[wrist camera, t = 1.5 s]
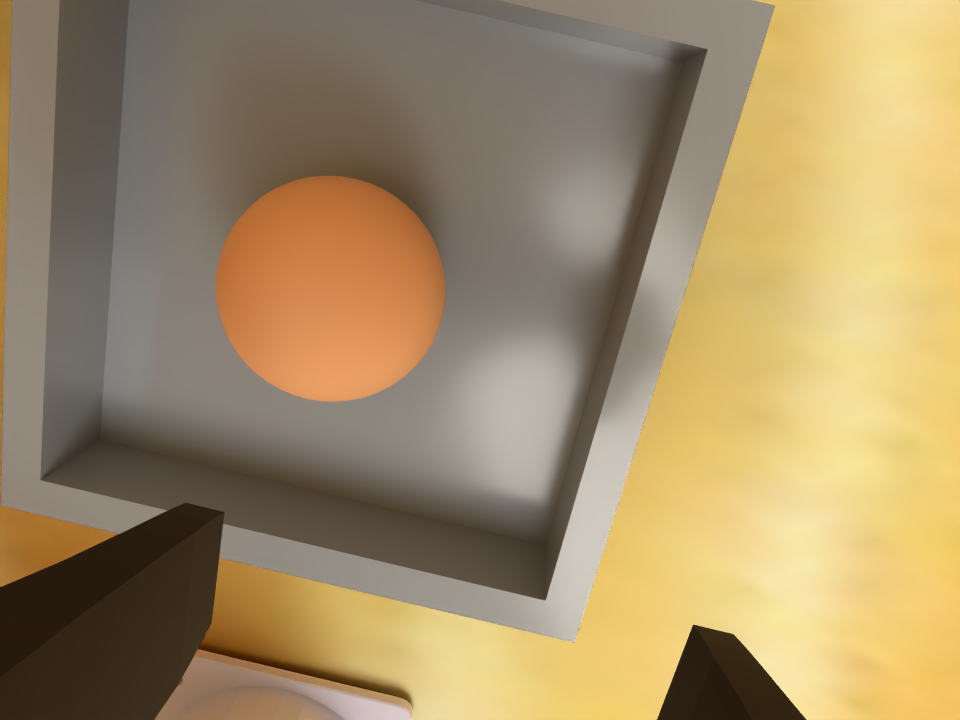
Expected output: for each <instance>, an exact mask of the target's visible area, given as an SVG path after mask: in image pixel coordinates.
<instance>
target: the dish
mask: <svg viewBox="0 0 960 720" xmlns="http://www.w3.org/2000/svg"><path fill="white" fill-rule="evenodd" d="M774 8H775V5H770V4H766V3H762V2H757V1H753V0H12V21H11V66H10V111H9V157H8V202H7V247H6V293H5V338H4V384H3V429H2V474H1V506H4V507H8V508H12V509H17V510H21V511H25V512H29V513H33V514H38V515H42V516H46V517H50V518H54V519H59V520H63V521H67V522H71V523H75V524H79V525H84V526H88V527H92V528H96V529H100V530H105V531H109V532H113V533H117V534H120V533H123V532H125V531H127V530H129V529H131V528H133V527H135V526H137V525H139V524H141V523H143V522H145V521H147V520H149V519H151V518H153V517H155V516H157V515H159V514H161V513H164V512H166V511H168V510H170V509H172V508H174V507H177V506H179V505H181V504H183V503H190V504H194V505H198V506H202V507H206V508H210V509H214V510H219V511H223V512H225V514H224V522H223V530H222V538H221V547H220V555H219V558H222V559H226V560H230V561H234V562H239V563H243V564H247V565H251V566H255V567H260V568H264V569H268V570H272V571H276V572H281V573H285V574H289V575H293V576H297V577H301V578H306V579H310V580H314V581H318V582H322V583H327V584H331V585H335V586H339V587H343V588H348V589H352V590H356V591H360V592H364V593H368V594H373V595H377V596H381V597H385V598H389V599H394V600H398V601H402V602H406V603H410V604H415V605H419V606H423V607H427V608H431V609H436V610H440V611H444V612H448V613H452V614H456V615H461V616H465V617H469V618H473V619H477V620H482V621H486V622H490V623H494V624H498V625H503V626H507V627H511V628H515V629H519V630H523V631H528V632H532V633H536V634H540V635H544V636H549V637H553V638H557V639H561V640H565V641H570V642H574V643H575V640H576V636H577V633H578V630H579V627H580V624H581V620H582V617H583V614H584V611H585V608H586V605H587V601H588V598H589V595H590V592H591V589H592V586H593V582H594V579H595V576H596V573H597V570H598V566H599V563H600V560H601V557H602V554H603V551H604V547H605V544H606V541H607V538H608V535H609V532H610V528H611V525H612V522H613V519H614V516H615V513H616V509H617V506H618V503H619V500H620V497H621V493H622V490H623V487H624V484H625V481H626V478H627V474H628V471H629V468H630V465H631V462H632V459H633V455H634V452H635V449H636V446H637V443H638V439H639V436H640V433H641V430H642V427H643V424H644V420H645V417H646V414H647V411H648V408H649V405H650V401H651V398H652V395H653V392H654V389H655V385H656V382H657V379H658V376H659V373H660V370H661V366H662V363H663V360H664V357H665V354H666V351H667V347H668V344H669V341H670V338H671V335H672V331H673V328H674V325H675V322H676V319H677V316H678V312H679V309H680V306H681V303H682V300H683V297H684V293H685V290H686V287H687V284H688V281H689V277H690V274H691V271H692V268H693V265H694V262H695V258H696V255H697V252H698V249H699V246H700V243H701V239H702V236H703V233H704V230H705V227H706V224H707V220H708V217H709V214H710V211H711V208H712V204H713V201H714V198H715V195H716V192H717V189H718V185H719V182H720V179H721V176H722V173H723V170H724V166H725V163H726V160H727V157H728V154H729V150H730V147H731V144H732V141H733V138H734V135H735V131H736V128H737V125H738V122H739V119H740V116H741V112H742V109H743V106H744V103H745V100H746V96H747V93H748V90H749V87H750V84H751V81H752V77H753V74H754V71H755V68H756V65H757V62H758V58H759V55H760V52H761V49H762V46H763V42H764V39H765V36H766V33H767V30H768V27H769V23H770V20H771V17H772V14H773V11H774ZM314 176H343V177H349V178H355V179H359V180H362V181H365V182H368V183H371V184H373V185H376V186H378V187H380V188H382V189H384V190H386V191H387V192H389V193H391V194H392V195H394V196H395V197H397V198H398V199H399V200H401V201H402V202H403V203H404V204H406V205H407V206H408V207H409V208H410V209H411V210H412V211H413V212H414V213H415V214H416V215H417V216H418V218H419V219H420V220H421V222H422V223H423V224H424V226H425V227H426V228H427V230H428V232H429V233H430V235H431V237H432V239H433V241H434V242H435V245H436V247H437V250H438V252H439V255H440V258H441V262H442V266H443V269H444V277H445V305H444V312H443V316H442V319H441V323H440V326H439V330H438V332H437V334H436V337H435V339H434V341H433V343H432V345H431V346H430V348H429V350H428V351H427V353H426V354H425V355H424V357H423V358H422V359H421V360H420V362H419V363H418V364H417V365H416V366H415V368H414V369H413V370H411V371H410V372H409V373H408V374H407V375H406V376H405V377H404V378H402V379H401V380H399V381H398V382H396V383H395V384H394V385H392V386H390V387H388V388H386V389H384V390H382V391H380V392H378V393H376V394H373V395H370V396H367V397H365V398H360V399H355V400H350V401H338V402H325V401H315V400H310V399H305V398H302V397H298V396H295V395H292V394H290V393H287V392H285V391H283V390H281V389H279V388H277V387H275V386H274V385H272V384H270V383H268V382H267V381H265V380H264V379H263V378H261V377H260V376H259V375H257V374H256V373H255V372H254V371H253V370H252V369H251V368H250V367H249V366H248V365H247V364H246V363H245V362H244V361H243V359H242V358H241V357H240V356H239V355H238V353H237V352H236V350H235V349H234V347H233V346H232V344H231V342H230V340H229V338H228V336H227V334H226V332H225V330H224V327H223V324H222V321H221V319H220V315H219V310H218V306H217V300H216V273H217V267H218V261H219V258H220V255H221V252H222V249H223V246H224V243H225V241H226V239H227V237H228V235H229V233H230V231H231V229H232V228H233V226H234V225H235V223H236V222H237V221H238V219H239V218H240V217H241V216H242V215H243V214H244V213H245V211H246V210H247V209H248V208H249V207H250V206H251V205H252V204H253V203H255V202H256V201H257V200H258V199H260V198H261V197H262V196H263V195H265V194H267V193H268V192H270V191H272V190H273V189H275V188H277V187H280V186H282V185H285V184H287V183H289V182H292V181H295V180H299V179H303V178H307V177H314Z"/></svg>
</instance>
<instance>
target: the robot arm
mask: <svg viewBox="0 0 960 720" xmlns="http://www.w3.org/2000/svg"><path fill="white" fill-rule="evenodd" d="M224 514H225V512H223V511H219V510H214V509H210V508H206V507H202V506H198V505H194V504H190V503H183V504H181V505H179V506H177V507H174V508H172V509H170V510H168V511H166V512H164V513H161V514H159V515H157V516H155V517H153V518H151V519H149V520H147V521H145V522H143V523H141V524H139V525H137V526H135V527H133V528H131V529H129V530H127V531H125V532H123V533H120V534H118V535H116V536H114V537H112V538H110V539H108V540H106V541H104V542H102V543H100V544H97V545H95V546H93V547H91V548H89V549H87V550H85V551H83V552H81V553H78V554H76V555H74V556H72V557H70V558H68V559H66V560H64V561H61V562H59V563H57V564H54V565H52V566H50V567H47V568H45V569H43V570H40V571H38V572H36V573H33V574H31V575H28V576H26V577H24V578H21V579H19V580H17V581H14V582H12V583H10V584H7V585H5V586H3V587H0V720H154V719H155V720H412V716H413V708H412V706H411V704H410V703H409V702H408V701H407V700H405V699H402V698H399V697H395V696H391V695H387V694H383V693H379V692H374V691H370V690H366V689H362V688H358V687H354V686H349V685H345V684H341V683H337V682H333V681H329V680H324V679H320V678H316V677H312V676H308V675H304V674H299V673H295V672H291V671H287V670H283V669H278V668H274V667H270V666H266V665H262V664H258V663H253V662H249V661H245V660H241V659H237V658H233V657H228V656H224V655H220V654H216V653H212V652H208V651H203V650H199V649H198V648H199V646H200V644H201V642H202V640H203V638H204V636H205V634H206V632H207V630H208V628H209V626H210V624H211V622H212V613H213V605H214V597H215V588H216V580H217V572H218V563H219V555H220V547H221V538H222V530H223V522H224ZM657 720H806V719H805V718H804V716H803V715H802V714H801V713H800V712H799V710H798V709H797V708H796V707H795V706H794V705H793V703H792V702H791V701H790V700H789V698H788V697H787V696H786V695H785V694H784V692H783V691H782V690H781V689H780V688H779V686H778V685H777V684H776V683H775V682H774V680H773V679H772V678H771V677H770V676H769V674H768V673H767V672H766V671H765V670H764V668H763V667H762V666H761V665H760V664H759V663H758V661H757V660H756V659H755V658H754V657H753V655H752V654H751V653H750V652H749V651H748V650H747V649H746V647H745V646H744V645H743V644H742V643H741V642H740V641H739V640H738V639H737V638H736V636H735V635H734V634H730V633H726V632H722V631H718V630H713V629H709V628H705V627H701V626H697V625H693V627H692V629H691V632H690V634H689V637H688V640H687V642H686V645H685V648H684V650H683V653H682V655H681V658H680V661H679V663H678V666H677V669H676V671H675V674H674V677H673V679H672V682H671V684H670V687H669V690H668V692H667V695H666V698H665V700H664V703H663V705H662V708H661V711H660V713H659V716H658V719H657Z"/></svg>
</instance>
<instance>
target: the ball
mask: <svg viewBox="0 0 960 720" xmlns="http://www.w3.org/2000/svg"><path fill="white" fill-rule="evenodd" d="M216 300H217V306H218V310H219V315H220V319H221V321H222V324H223V327H224V330H225V332H226V334H227V336H228V338H229V340H230V342H231V344H232V346H233V347H234V349H235V350H236V352H237V353H238V355H239V356H240V357H241V358H242V359H243V361H244V362H245V363H246V364H247V365H248V366H249V367H250V368H251V369H252V370H253V371H254V372H255V373H256V374H257V375H259V376H260V377H261V378H263V379H264V380H265V381H267V382H268V383H270V384H272V385H274V386H275V387H277V388H279V389H281V390H283V391H285V392H287V393H290V394H292V395H295V396H298V397H302V398H305V399H310V400H315V401H325V402H338V401H350V400H355V399H360V398H365V397H367V396H370V395H373V394H376V393H378V392H380V391H382V390H384V389H386V388H388V387H390V386H392V385H394V384H395V383H396V382H398V381H399V380H401V379H402V378H404V377H405V376H406V375H407V374H408V373H409V372H410V371H411V370H413V369H414V368H415V366H416V365H417V364H418V363H419V362H420V360H421V359H422V358H423V357H424V355H425V354H426V353H427V351H428V350H429V348H430V346H431V345H432V343H433V341H434V339H435V337H436V334H437V332H438V330H439V326H440V323H441V319H442V316H443V312H444V305H445V277H444V269H443V266H442V262H441V258H440V255H439V252H438V250H437V247H436V245H435V242H434V241H433V239H432V237H431V235H430V233H429V232H428V230H427V228H426V227H425V226H424V224H423V223H422V222H421V220H420V219H419V218H418V216H417V215H416V214H415V213H414V212H413V211H412V210H411V209H410V208H409V207H408V206H407V205H406V204H404V203H403V202H402V201H401V200H399V199H398V198H397V197H395V196H394V195H392V194H391V193H389V192H387V191H386V190H384V189H382V188H380V187H378V186H376V185H373V184H371V183H368V182H365V181H362V180H359V179H355V178H349V177H343V176H314V177H307V178H303V179H299V180H295V181H292V182H289V183H287V184H285V185H282V186H280V187H277V188H275V189H273V190H272V191H270V192H268V193H267V194H265V195H263V196H262V197H261V198H260V199H258V200H257V201H256V202H255V203H253V204H252V205H251V206H250V207H249V208H248V209H247V210H246V211H245V213H244V214H243V215H242V216H241V217H240V218H239V219H238V221H237V222H236V223H235V225H234V226H233V228H232V229H231V231H230V233H229V235H228V237H227V239H226V241H225V243H224V246H223V249H222V252H221V255H220V258H219V261H218V267H217V273H216Z"/></svg>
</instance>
